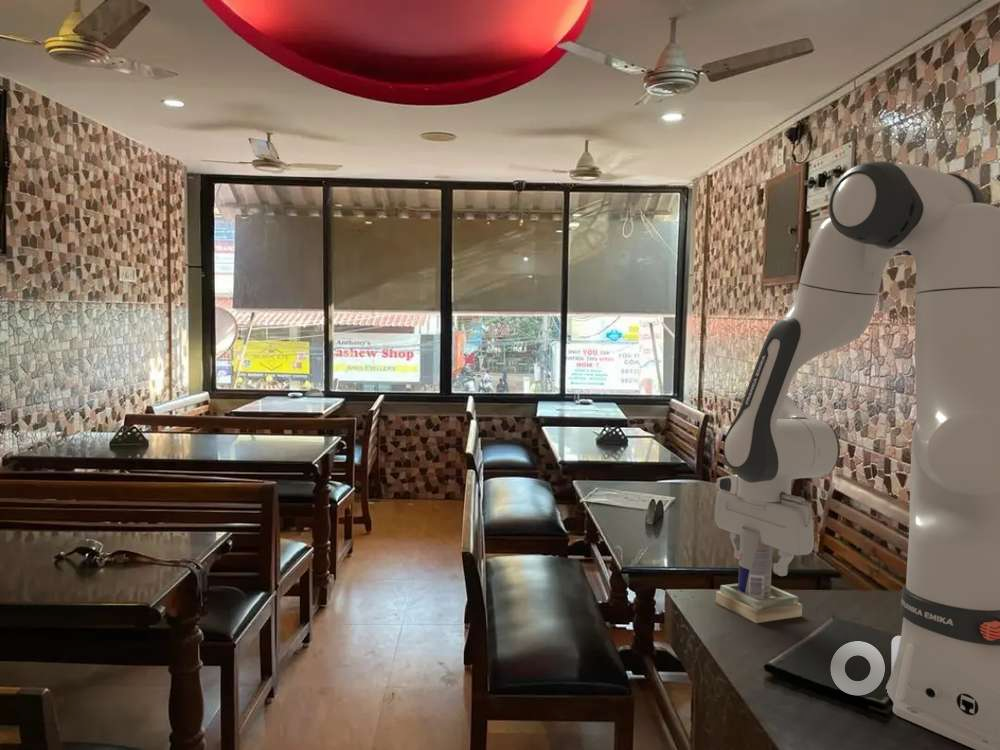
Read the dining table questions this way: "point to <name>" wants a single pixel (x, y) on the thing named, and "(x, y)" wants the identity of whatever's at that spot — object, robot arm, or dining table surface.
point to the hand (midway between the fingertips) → (759, 566)
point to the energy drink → (754, 566)
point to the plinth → (759, 604)
